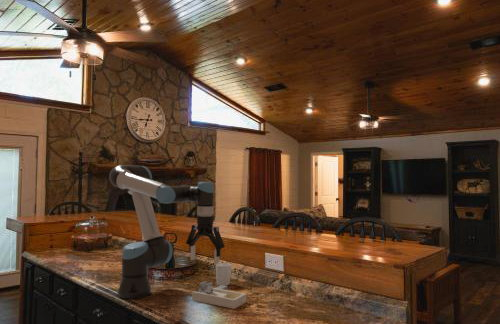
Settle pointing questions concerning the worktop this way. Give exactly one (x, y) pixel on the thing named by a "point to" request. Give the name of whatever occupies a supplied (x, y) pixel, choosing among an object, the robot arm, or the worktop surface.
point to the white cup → (223, 273)
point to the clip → (206, 287)
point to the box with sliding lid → (221, 298)
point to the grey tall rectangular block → (222, 287)
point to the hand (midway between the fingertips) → (204, 261)
